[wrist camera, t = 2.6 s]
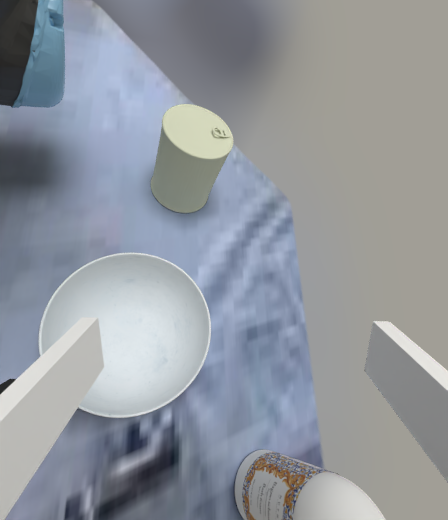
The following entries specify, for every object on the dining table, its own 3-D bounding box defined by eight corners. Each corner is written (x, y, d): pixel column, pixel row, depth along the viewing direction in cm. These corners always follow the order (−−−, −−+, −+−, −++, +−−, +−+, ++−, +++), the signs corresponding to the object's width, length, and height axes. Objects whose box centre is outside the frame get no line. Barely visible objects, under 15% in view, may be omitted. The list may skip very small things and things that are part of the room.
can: (212, 214, 44) (242, 159, 34) (154, 212, 40) (167, 151, 30) (202, 168, 47) (227, 107, 37) (147, 163, 44) (158, 93, 33)
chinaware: (102, 448, 27) (99, 465, 20) (27, 323, 29) (3, 302, 23) (215, 352, 35) (239, 342, 28) (149, 259, 37) (157, 230, 30)
